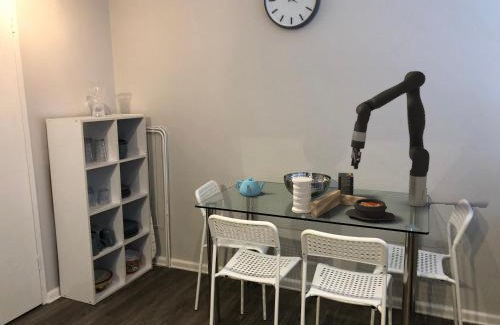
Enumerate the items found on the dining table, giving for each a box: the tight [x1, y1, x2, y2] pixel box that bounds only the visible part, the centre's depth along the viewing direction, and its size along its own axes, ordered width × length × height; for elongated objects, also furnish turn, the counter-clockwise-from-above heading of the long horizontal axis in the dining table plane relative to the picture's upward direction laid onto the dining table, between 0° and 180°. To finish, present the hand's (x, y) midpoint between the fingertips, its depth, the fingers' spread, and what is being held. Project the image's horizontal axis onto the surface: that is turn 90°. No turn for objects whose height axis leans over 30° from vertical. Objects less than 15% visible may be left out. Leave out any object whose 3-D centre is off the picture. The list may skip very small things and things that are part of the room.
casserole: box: [345, 198, 396, 222], centre depth 217 cm, size 25×19×8 cm
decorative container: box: [291, 176, 313, 214], centre depth 231 cm, size 12×12×18 cm
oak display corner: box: [310, 189, 369, 219], centre depth 228 cm, size 18×32×8 cm, turn 143°
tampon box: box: [337, 172, 355, 196], centre depth 254 cm, size 11×9×15 cm
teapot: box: [234, 177, 267, 197], centre depth 268 cm, size 15×15×11 cm
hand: (354, 167), depth 235 cm, fingers open, 8 cm apart
